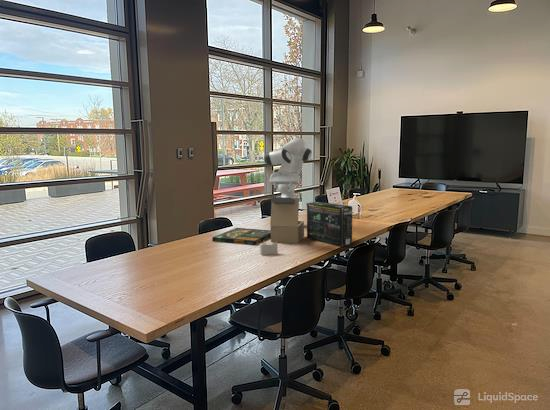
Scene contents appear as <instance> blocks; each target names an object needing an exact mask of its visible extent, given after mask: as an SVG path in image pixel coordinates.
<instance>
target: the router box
mask: <svg viewBox="0 0 550 410" xmlns="http://www.w3.org/2000/svg"><path fill="white" fill-rule="evenodd" d="M306 239H307V240H313V241H316V242H320V243H325V244H328V245H329V244H330V245H334V246H339V247H346V246H347V247H348V246H349V245H353V206H352V205H344V204H337V203H330V202H329V203H328V202H321V201H312V202H306Z"/></svg>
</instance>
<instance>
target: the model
mask: <svg viewBox="0 0 550 410" xmlns="http://www.w3.org/2000/svg"><path fill="white" fill-rule="evenodd" d="M259 251H260V253H259V254H260V255H261V256H265V255H275V254H276V255H277V254H278V251H279V250H278V242H273V244H271V243H270V244H267V243H266V242H260V243H259Z"/></svg>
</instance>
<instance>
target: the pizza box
mask: <svg viewBox="0 0 550 410" xmlns="http://www.w3.org/2000/svg"><path fill="white" fill-rule="evenodd" d="M211 238H212V239H211V240H212V242H215V243H216V242H217V243H227V244H236V245H237V244H238V245H247V246H256V245H258V243H259V244H260V243H263V242H264V241H267V240H269V239H271V229H270V230H269V229H258V228H257V229H256V228H245V227H243V228H242V227H235V228H232V229H230V230H228V231H225V232H222V233H220V234H216V235H215V236H212V237H211Z"/></svg>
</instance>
